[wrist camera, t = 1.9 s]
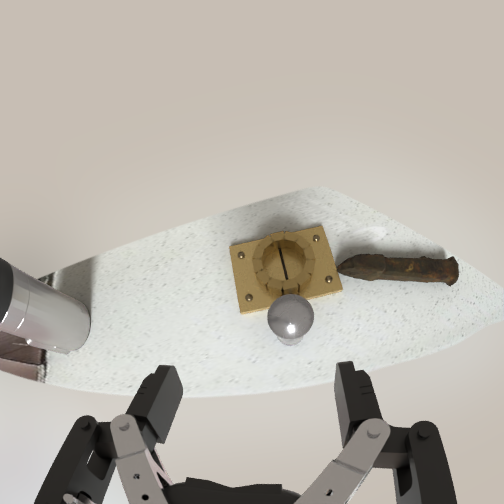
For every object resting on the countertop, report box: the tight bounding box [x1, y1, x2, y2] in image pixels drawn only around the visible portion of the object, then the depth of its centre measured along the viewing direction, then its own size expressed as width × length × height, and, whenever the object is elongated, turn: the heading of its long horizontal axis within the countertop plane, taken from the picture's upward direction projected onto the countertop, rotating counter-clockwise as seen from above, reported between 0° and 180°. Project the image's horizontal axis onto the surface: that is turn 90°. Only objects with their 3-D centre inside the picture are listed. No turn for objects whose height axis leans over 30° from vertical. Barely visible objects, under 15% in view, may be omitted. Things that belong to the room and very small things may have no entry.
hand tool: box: [337, 254, 459, 286], centre depth 34 cm, size 19×4×5 cm, turn 81°
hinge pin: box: [267, 294, 314, 346], centre depth 30 cm, size 4×4×11 cm
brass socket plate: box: [229, 226, 343, 314], centre depth 37 cm, size 14×10×4 cm
